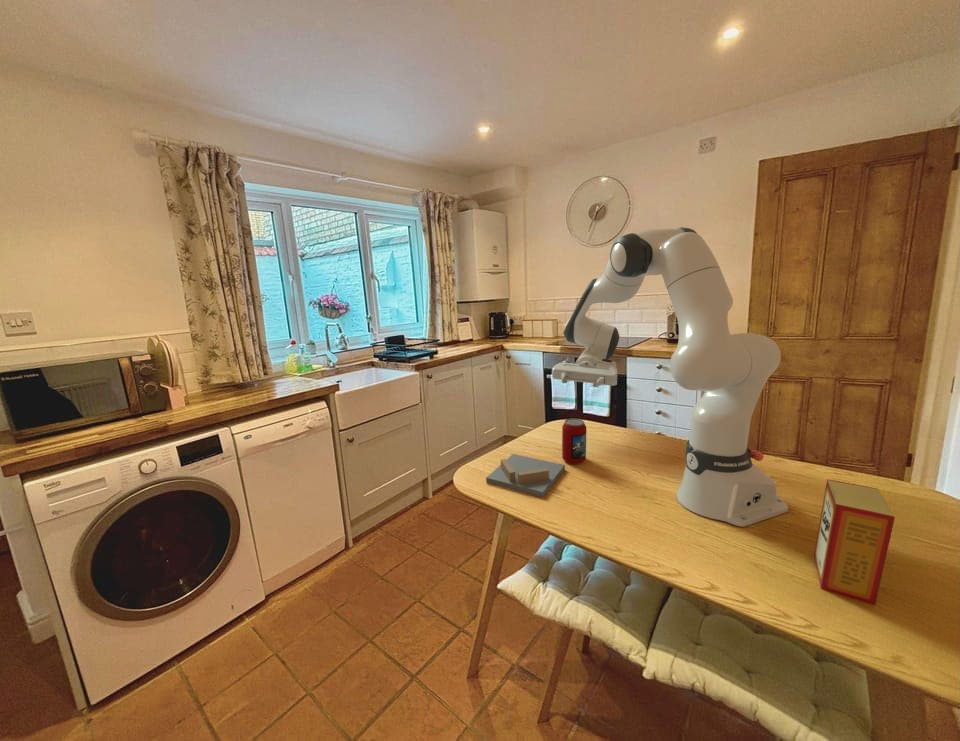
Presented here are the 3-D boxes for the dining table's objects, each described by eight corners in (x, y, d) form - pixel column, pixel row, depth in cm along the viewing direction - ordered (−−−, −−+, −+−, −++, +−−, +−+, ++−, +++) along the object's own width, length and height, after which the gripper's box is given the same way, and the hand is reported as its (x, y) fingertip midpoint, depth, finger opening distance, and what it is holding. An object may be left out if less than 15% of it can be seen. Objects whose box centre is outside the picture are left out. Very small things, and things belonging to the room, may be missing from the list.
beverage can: (580, 467, 110) (580, 427, 107) (558, 461, 114) (558, 423, 111) (589, 458, 115) (590, 420, 113) (568, 453, 119) (568, 416, 117)
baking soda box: (813, 555, 73) (827, 477, 69) (861, 568, 70) (878, 486, 66) (821, 588, 66) (836, 503, 62) (875, 605, 62) (895, 515, 58)
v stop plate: (513, 458, 117) (512, 446, 116) (564, 469, 109) (564, 456, 108) (486, 482, 104) (485, 468, 103) (542, 497, 96) (542, 482, 95)
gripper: (557, 355, 133) (546, 369, 122) (620, 361, 125) (615, 376, 113) (557, 373, 136) (545, 388, 124) (619, 380, 127) (613, 396, 116)
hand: (579, 382), depth 119 cm, fingers open, 8 cm apart
